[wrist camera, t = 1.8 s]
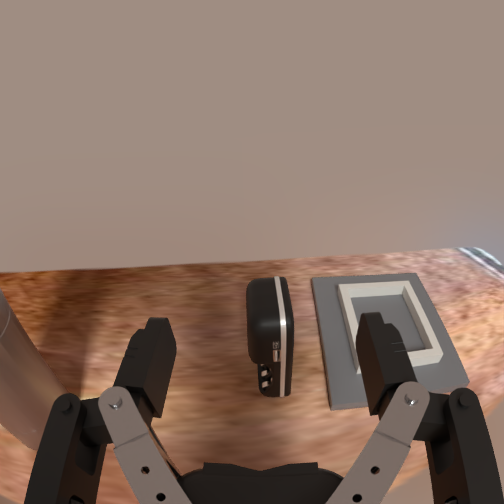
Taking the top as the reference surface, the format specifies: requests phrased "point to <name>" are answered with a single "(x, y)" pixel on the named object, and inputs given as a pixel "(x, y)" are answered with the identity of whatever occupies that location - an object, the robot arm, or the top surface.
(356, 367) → the holder
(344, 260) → the top surface
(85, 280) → the top surface
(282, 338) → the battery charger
